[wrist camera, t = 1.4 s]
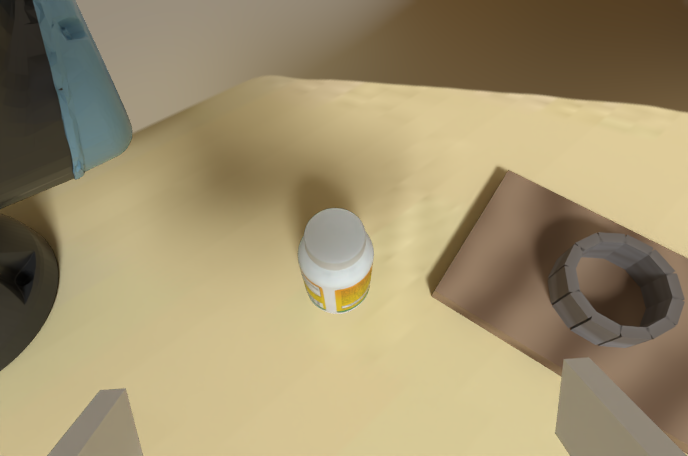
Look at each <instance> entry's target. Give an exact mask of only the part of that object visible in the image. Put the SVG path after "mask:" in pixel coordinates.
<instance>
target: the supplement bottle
mask: <svg viewBox="0 0 688 456" xmlns="http://www.w3.org/2000/svg"><path fill="white" fill-rule="evenodd" d="M373 257H374V250H373V245H372V242H371V239H370V237H369V236H368V234H367V233H366V231H365V228H364V226H363V223H362V222H361V220H360V219H359V218H358V217H357V216H356V215H355V214H354V213H352V212H350V211H348V210H345V209H341V208H329V209H325V210H323V211H320V212H318V213H317V214H315V215H314V216H313V217H312V218H311V219H310V220H309V222H308V224H307V226H306V228H305V231H304V236H303V237H302V239H301V241H300V244H299V248H298V261H299V265H300V269H301V273H302V276H303V279H304V283H305V287H306V290H307V293H308V296H309V297H310V299H311V301H312V302H313V303H314V304H315V305H316V306H317V307H318V308H320V309H321V310H323V311H326V312H328V313H334V314H341V313H346V312H349V311H351V310H353V309H355V308H356V307H358V306H359V305H360V304H361V303H362V302H363V301H364V299H365V298H366V296H367V294H368V291H369V287H370V280H371V272H372V265H373Z"/></svg>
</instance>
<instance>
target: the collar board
mask: <svg viewBox="0 0 688 456" xmlns="http://www.w3.org/2000/svg"><path fill="white" fill-rule="evenodd" d="M432 297H434V298H435V299H437V300H439V301H440V302H442V303H443V304H445V305H447V306H448V307H450V308H452V309H453V310H455V311H456V312H458V313H460V314H461V315H463V316H464V317H466V318H468V319H469V320H471V321H473V322H474V323H476V324H477V325H479V326H481V327H482V328H484V329H486V330H487V331H489V332H490V333H492V334H494V335H495V336H497V337H498V338H500V339H502V340H503V341H505V342H507V343H508V344H510V345H511V346H513V347H515V348H516V349H518V350H520V351H521V352H523V353H524V354H526V355H528V356H529V357H531V358H533V359H534V360H536V361H537V362H539V363H541V364H542V365H544V366H545V367H547V368H549V369H550V370H552V371H554V372H555V373H557V374H558V375H560V376H562V369H563V360H564V359H573V358H587V357H589V358H590V359H591V360H592V361H593V362H594V363H595V364H596V365H597V366H598V367H599V368H600V369H601V370H602V371H603V372H604V373H605V374H606V375H607V376H608V377H609V378H610V379H611V380H612V381H613V382H614V383H615V384H616V385H617V386H618V387H619V388H620V389H621V390H622V391H623V392H624V393H625V394H626V395H627V396H628V397H629V398H630V399H631V400H632V401H633V402H634V403H635V404H636V405H637V406H638V407H639V408H640V409H641V410H642V411H643V412H644V413H645V414H646V415H647V416H648V417H649V418H650V419H651V420H652V421H653V422H654V423H655V424H656V425H657V426H658V427H659V428H660V429H661V430H662V431H663V432H664V433H665V434H666V435H667V436H668V437H669V438H670V439H671V440H672V441H673V442H674V443H675V444H676V445H677V446H678V447H679V448H680V449H681V450H682V451H683V452H685V453H686V454H688V259H687V258H685V257H683V256H681V255H679V254H677V253H675V252H673V251H671V250H669V249H667V248H665V247H663V246H661V245H659V244H657V243H655V242H653V241H651V240H649V239H647V238H645V237H643V236H641V235H639V234H637V233H635V232H633V231H631V230H629V229H627V228H625V227H623V226H621V225H619V224H617V223H614V222H612V221H610V220H608V219H606V218H604V217H602V216H600V215H598V214H596V213H594V212H592V211H590V210H588V209H586V208H584V207H582V206H580V205H578V204H576V203H574V202H572V201H570V200H568V199H566V198H564V197H562V196H560V195H558V194H556V193H554V192H552V191H550V190H548V189H546V188H544V187H542V186H540V185H538V184H536V183H533V182H531V181H529V180H527V179H525V178H523V177H521V176H519V175H517V174H515V173H513V172H511V171H509V170H508V172H507V174H506V175H505V177H504V178H503V180H502V182H501V183H500V185H499V187H498V188H497V190H496V191H495V193H494V195H493V196H492V198H491V200H490V201H489V203H488V204H487V206H486V208H485V209H484V211H483V213H482V214H481V216H480V217H479V219H478V221H477V222H476V224H475V226H474V227H473V229H472V230H471V232H470V234H469V235H468V237H467V239H466V240H465V242H464V243H463V245H462V247H461V248H460V250H459V252H458V253H457V255H456V256H455V258H454V260H453V261H452V263H451V265H450V266H449V268H448V270H447V271H446V273H445V274H444V276H443V278H442V279H441V281H440V283H439V284H438V286H437V287H436V289H435V291H434V293H433V294H432Z"/></svg>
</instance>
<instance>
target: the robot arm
mask: <svg viewBox="0 0 688 456" xmlns="http://www.w3.org/2000/svg"><path fill="white" fill-rule="evenodd" d="M131 139H132V126H131V123H130V120H129V118H128V115H127V113H126V110H125V108H124V106H123V103H122V101H121V99H120V97H119V94H118V92H117V90H116V88H115V86H114V83H113V81H112V79H111V77H110V74H109V72H108V70H107V68H106V66H105V63H104V61H103V59H102V57H101V55H100V53H99V50H98V48H97V46H96V44H95V42H94V40H93V38H92V35H91V33H90V31H89V29H88V27H87V24H86V22H85V20H84V18H83V16H82V14H81V12H80V10H79V7H78V5H77V3H76V1H75V0H0V209H1V208H4V207H6V206H8V205H11V204H13V203H16V202H18V201H20V200H23V199H25V198H28V197H30V196H33V195H35V194H37V193H40V192H42V191H45V190H47V189H49V188H52V187H54V186H57V185H59V184H62V183H64V182H66V181H69V180H71V179H79V178H80V177H82V176H83V175H84V173H85V172H86V171H88V170H90V169H92V168H94V167H96V166H98V165H100V164H102V163H104V162H106V161H108V160H111V159H113V158H115V157H117V156H119V155H120V154H122V152H124V151H125V150H126V149H127V147H128V145H129V143H130V141H131ZM57 285H58V267H57V262H56V258H55V255H54V253H53V251H52V249H51V247H50V245H49V244H48V243H47V241H46V240H45V239H44V238H43V237H42V236H40V235H39V234H38V233H36V232H35V231H33V230H32V229H30V228H29V227H27V226H26V225H24V224H23V223H21V222H19V221H18V220H15V219H13V218H11V217H8V216H6V215H3V214H0V371H1V370H2V369H3V368H5V367H6V366H7V365H8V364H9V363H11V362H12V361H13V360H14V359H15V358H16V357H17V356H18V355H19V354H20V353H21V352H22V351H23V350H24V349H25V348H26V347H27V346H28V345H29V343H30V342H31V341H32V340H33V338H34V337H35V336H36V334H37V333H38V332H39V330H40V329H41V327H42V325H43V324H44V322H45V320H46V318H47V316H48V314H49V312H50V310H51V307H52V305H53V302H54V299H55V295H56V291H57ZM555 434H556V435H557V437H558V438H559V440H560V441H561V443H562V444H563V446H564V447H565V449H566V450H567V452H568V453H569V455H570V456H687V455H686V454H685V453H684V452H683V451H682V450H681V449H680V448H679V447H678V446H677V445H676V444H675V443H674V442H673V441H672V440H671V439H670V438H669V437H668V436H667V435H666V434H665V433H664V432H663V431H662V430H661V429H660V428H659V427H658V426H657V425H656V424H655V423H654V422H653V421H652V420H651V419H650V418H649V417H648V416H647V415H646V414H645V413H644V412H643V411H642V410H641V409H640V408H639V407H638V406H637V405H636V404H635V403H634V402H633V401H632V400H631V399H630V398H629V397H628V396H627V395H626V394H625V393H624V392H623V391H622V390H621V389H620V388H619V387H618V386H617V385H616V384H615V383H614V382H613V381H612V380H611V379H610V378H609V377H608V376H607V375H606V374H605V373H604V372H603V371H602V370H601V369H600V368H599V367H598V366H597V365H596V364H595V363H594V362H593V361H592V360H591V359H590V358H589V357H587V358H573V359H564V360H563V369H562V378H561V387H560V396H559V404H558V413H557V422H556V431H555ZM47 456H143V453H142V449H141V445H140V441H139V438H138V434H137V430H136V426H135V422H134V418H133V414H132V411H131V407H130V403H129V399H128V395H127V391H126V388H125V389H110V390H100V391H99V392H98V393H97V395H96V396H95V397H94V398H93V399H92V401H91V402H90V403H89V404H88V406H87V407H86V408H85V409H84V411H83V412H82V413H81V414H80V416H79V417H78V418H77V419H76V421H75V422H74V423H73V424H72V426H71V427H70V428H69V429H68V430H67V432H66V433H65V434H64V435H63V437H62V438H61V439H60V440H59V442H58V443H57V444H56V445H55V447H54V448H53V449H52V450H51V452H50V453H49V454H48V455H47Z"/></svg>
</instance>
